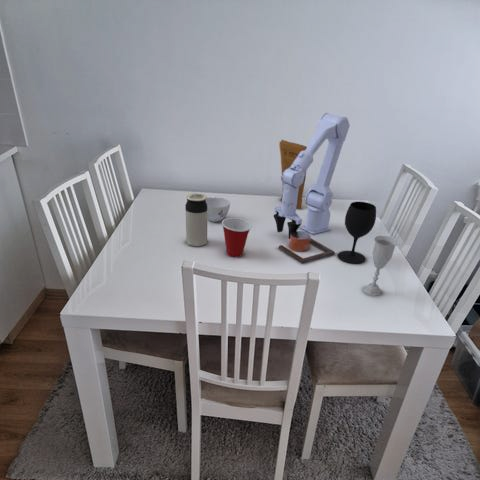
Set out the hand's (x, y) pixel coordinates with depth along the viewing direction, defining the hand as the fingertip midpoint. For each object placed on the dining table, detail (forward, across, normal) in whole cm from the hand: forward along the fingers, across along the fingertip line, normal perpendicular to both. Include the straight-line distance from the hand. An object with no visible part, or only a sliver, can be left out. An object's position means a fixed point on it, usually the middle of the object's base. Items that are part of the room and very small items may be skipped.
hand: (285, 235), depth 166 cm
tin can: (+2, +9, 0) cm, 9 cm away
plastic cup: (+2, +2, -25) cm, 25 cm away
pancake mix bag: (+2, -31, +27) cm, 41 cm away
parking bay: (+2, +12, 0) cm, 12 cm away
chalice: (+2, +46, 0) cm, 46 cm away
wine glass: (+2, +25, +12) cm, 28 cm away
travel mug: (+2, -13, -33) cm, 35 cm away
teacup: (+2, -31, -15) cm, 34 cm away
